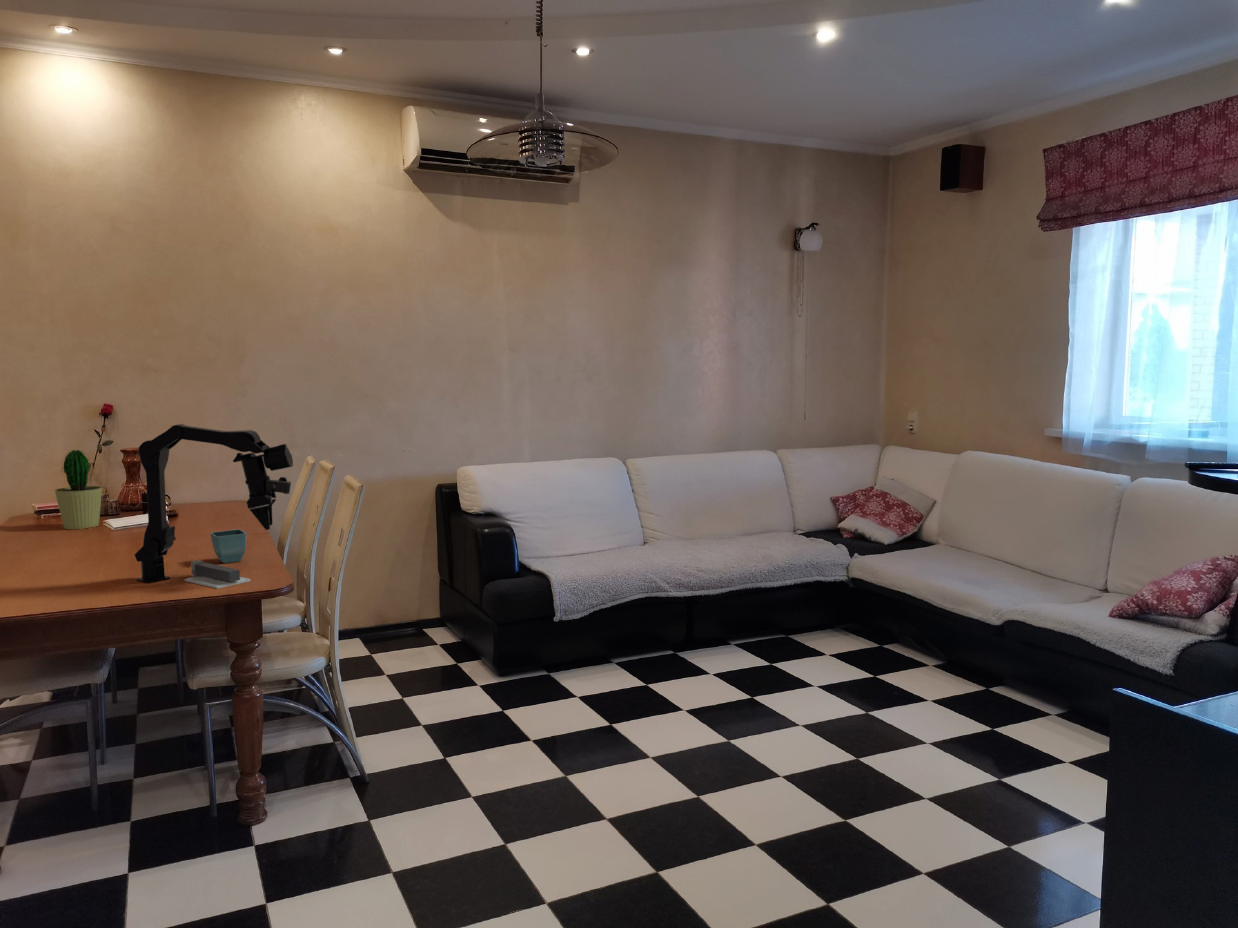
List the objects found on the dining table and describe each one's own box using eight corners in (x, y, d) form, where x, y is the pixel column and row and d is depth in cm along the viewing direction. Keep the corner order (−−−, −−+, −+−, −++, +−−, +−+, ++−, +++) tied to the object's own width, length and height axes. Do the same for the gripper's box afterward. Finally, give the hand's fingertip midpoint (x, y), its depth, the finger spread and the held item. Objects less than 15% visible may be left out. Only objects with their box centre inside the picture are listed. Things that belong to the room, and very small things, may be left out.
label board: (178, 579, 251) (178, 576, 251) (211, 572, 259) (211, 569, 259) (217, 588, 240) (217, 585, 240) (250, 581, 249) (250, 577, 249)
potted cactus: (113, 525, 338) (107, 447, 335) (70, 532, 325) (64, 450, 322) (91, 522, 346) (86, 445, 343) (49, 528, 333) (43, 449, 330)
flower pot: (217, 565, 269) (216, 536, 268) (211, 560, 276) (209, 532, 275) (248, 561, 274) (246, 533, 273) (241, 556, 281) (239, 529, 280)
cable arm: (189, 572, 254) (188, 561, 254) (199, 570, 257) (198, 559, 256) (229, 581, 243) (229, 570, 243) (239, 579, 245) (239, 568, 245)
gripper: (283, 470, 244) (296, 524, 246) (287, 465, 262) (300, 516, 264) (240, 479, 241) (254, 534, 243) (247, 474, 259) (261, 525, 261)
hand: (269, 527), depth 253 cm, fingers open, 9 cm apart
